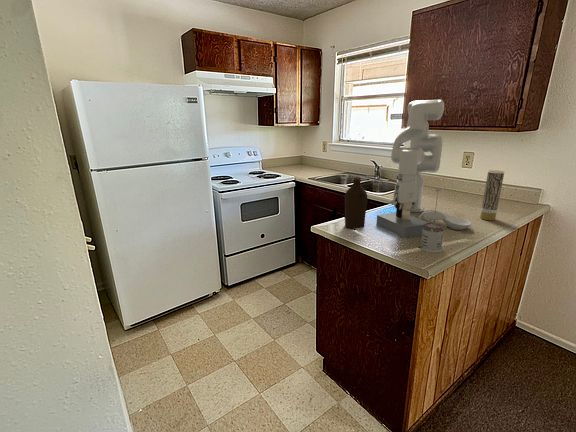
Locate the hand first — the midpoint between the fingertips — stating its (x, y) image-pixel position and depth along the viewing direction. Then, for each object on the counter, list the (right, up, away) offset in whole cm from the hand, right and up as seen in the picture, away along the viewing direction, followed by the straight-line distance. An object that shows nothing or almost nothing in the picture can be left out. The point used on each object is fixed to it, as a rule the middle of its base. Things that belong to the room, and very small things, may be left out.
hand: (402, 216), depth 145 cm
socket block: (0, -7, +2) cm, 7 cm away
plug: (0, -2, 0) cm, 2 cm away
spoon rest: (+23, -5, +8) cm, 25 cm away
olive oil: (-21, -6, +9) cm, 23 cm away
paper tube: (+51, -2, +17) cm, 54 cm away
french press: (+5, -13, -16) cm, 21 cm away
